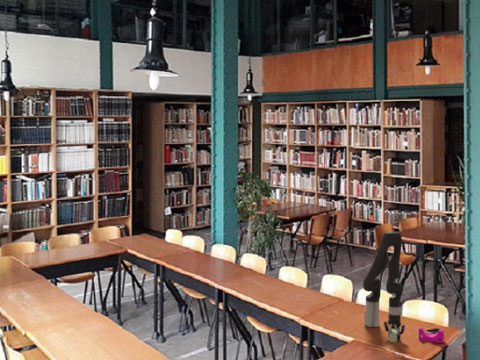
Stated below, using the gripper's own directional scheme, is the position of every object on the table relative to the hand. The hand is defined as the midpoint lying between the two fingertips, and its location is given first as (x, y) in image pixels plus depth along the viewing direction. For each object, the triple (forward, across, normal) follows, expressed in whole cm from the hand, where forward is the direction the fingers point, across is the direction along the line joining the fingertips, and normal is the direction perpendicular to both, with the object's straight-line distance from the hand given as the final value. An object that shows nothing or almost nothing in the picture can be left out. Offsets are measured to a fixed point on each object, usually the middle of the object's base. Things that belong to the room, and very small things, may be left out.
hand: (394, 339), depth 352 cm
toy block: (+1, +19, +15) cm, 24 cm away
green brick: (0, 0, 0) cm, 0 cm away
